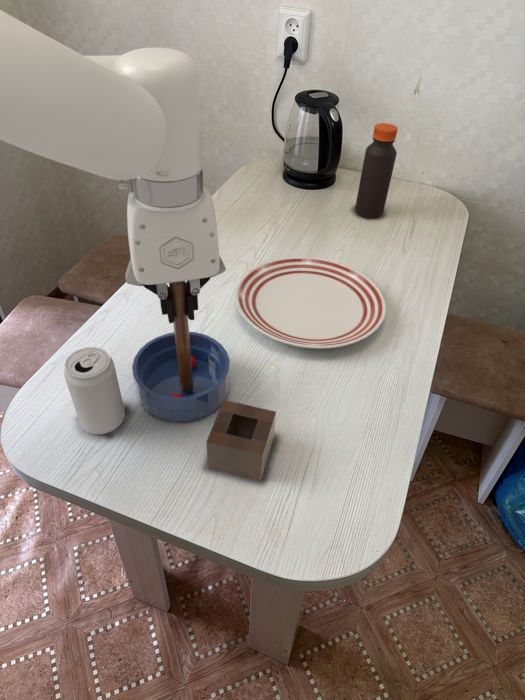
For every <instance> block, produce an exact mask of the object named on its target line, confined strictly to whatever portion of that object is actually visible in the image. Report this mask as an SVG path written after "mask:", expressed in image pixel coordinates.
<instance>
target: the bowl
mask: <svg viewBox="0 0 525 700" xmlns="http://www.w3.org/2000/svg"><path fill="white" fill-rule="evenodd" d="M189 336H190V349H191V355H192V356H193V357H194V358H195V360H196V365H195V367H194V368H193V369H192V374H193V386H194V388H193V390H192V391H190V392H183V391H181V389H180V381H179V371H178V362H177V353H176V343H175V334H174V332H167V333H164V334H162V335H159V336H157V337H154V338H153V339H151V340H149V341H148V342H146V343H145V344H144V345H143V346H142V347H141V348H140V349H139V350H138V351H137V353H136V355H135V356H134V358H133V363H132V366H131V368H132V369H131V370H132V376H133V381H134V386H135V392H136V397H137V399H138V402H139V403H140V404H141V407H143V408H144V409H145V410H146V411H147V412H148V413H150V414H151V415H154V416H155V417H157V418H159V419H162V420H167V421H172V422H175V421H176V422H188V421H193V420H198V419H200V418H203V417H205V416H207V415H210V414H211V413H213V412H214V411H216V410H217V409H218V408H219V407H221V406H222V403H223V401H224V400H227V397H228V394H229V392H230V385H231V382H230V380H231V374H230V372H231V371H230V370H231V364H230V363H231V362H230V358H229V357H230V356H229V354H228V351H227V350H226V349H225V347H224V346H223V345H222V343H220V341H218V340H216V339H215V338H213V337H212V336H209V335H206V334H204V333H201V332H195V331H189ZM173 394H181V395H182V396H183V397H171V396H172V395H173Z"/></svg>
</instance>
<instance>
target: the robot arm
mask: <svg viewBox="0 0 525 700" xmlns="http://www.w3.org/2000/svg"><path fill="white" fill-rule="evenodd" d="M200 102H201V99H200V78H199V70H198V67H197V64H196V62H195V60H194V59H193V58H192V56H190V55H189V54H188V53H186V52H184V51H181V50H179V49H175V48H171V47H158V46H157V47H156V46H155V47H141V48H135V49H132V50H129V51H127V52H125V53H124V54H123V53H122V54H118V55H117V54H115V55H83V54H82V53H79V52H78V51H76V50H74V49H72V48H70V47H69V46H67V45H65V44H63V43H62V42H59V41H57V40H55V39H54V38H52V37H50V36H48V35H47V34H44V33H43V32H42V31H39V30H38V29H35V28H33V27H32V26H30V25H28V24H26V23H25V22H23V21H21V20H19V19H18V18H16V17H14V16H12V15H10V14H9V13H7V12H6V11H4V10H2V9H0V141H2V142H5V143H7V144H10V145H11V146H14V147H17V148H19V149H22V150H25V151H27V152H29V153H33V154H34V155H37V156H41V157H43V158H46V159H49V160H51V161H54V162H57V163H60V164H63V165H66V166H69V167H72V168H75V169H78V170H81V171H83V172H87V173H90V174H93V175H96V176H99V177H102V178H106V179H109V180H115V181H117V186H118V190H126V191H130V192H129V193H128V196H127V207H126V221H127V222H126V223H127V238H128V247H129V254H130V258H129V261H128V265H127V266H126V267H127V268H126V271H125V274H124V278H125V283H126V284H128V285H131V286H136V287H144V288H145V289H146V290H148V291H149V292H151V293H153V294H155V295H156V296H157V298H158V299H159V304H160V310H161V316H165V315H167V319H168V323H169V324H173V322H175V320H174V310H173V301H172V296H171V294H170V288H169V283H171V282H179V281H185V287H186V301H187V314H188V320H190V321H195V311H199V297H198V295H199V294H200V293H201V289H203V287H204V286H205V285H206V284H207V283H208V282H209V281H211V279H212V278H215V277H217V276H219V275H221V274H223V273H225V272H226V269H227V268H226V265H225V263H224V261H223V259H222V256H221V255H220V247H219V246H220V245H219V235H218V226H217V218H216V212H215V206H214V201H213V198H212V195H211V193H210V192H209V190H208V189H207V188H206V187H205V186H204V173H203V172H204V171H203V153H202V127H201V125H202V124H201V103H200Z"/></svg>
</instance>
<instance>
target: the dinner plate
mask: <svg viewBox="0 0 525 700" xmlns="http://www.w3.org/2000/svg"><path fill="white" fill-rule="evenodd" d="M234 300H235V306H236V308H237V310H238V312H239V314H240V316H241V317H242V318H243V319H244V320H245V322H247V324H249V325H250V326H251V328H253V329H254V330H256V331H258V332H259V333H260V334H262V335H264V336H266V337H268V338H269V339H272V340H274V341H277V342H279V343H283V344H285V345H288V346H293V347H298V348H303V349H317V350H319V349H320V350H322V349H334V348H341V347H345V346H349V345H352V344H355V343H358V342H361V341H362V340H364V339H366V338H368V337H370V336H371V335H372V334H373V333H375V332H376V331H377V330H378V329H379V328H380V326H381V325H382V323H383V321H384V319H385V316H386V312H387V311H386V310H387V309H386V308H387V307H386V306H387V305H386V302H385V297H384V295H383V293H382V291H381V289H380V288H379V287H378V286H377V285H376V283H374V282H373V280H372V279H370V278H369V277H368V276H366V275H365V274H363V273H362V272H361V271H359V270H356V269H355V268H353V267H351V266H348V265H346V264H344V263H341V262H338V261H335V260H331V259H328V258H327V259H326V258H323V257H322V258H321V257H316V256H315V257H314V256H285V257H280V258H278V257H277V258H274V259H270V260H267V261H264V262H261V263H259V264H257V265H255V266H254V267H252V268H250V269H249V270H248V271H247V272H246V273H244V274H243V276H242V277H241V278H240V279H239V280H238V282H237V285H236V287H235V291H234Z"/></svg>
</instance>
